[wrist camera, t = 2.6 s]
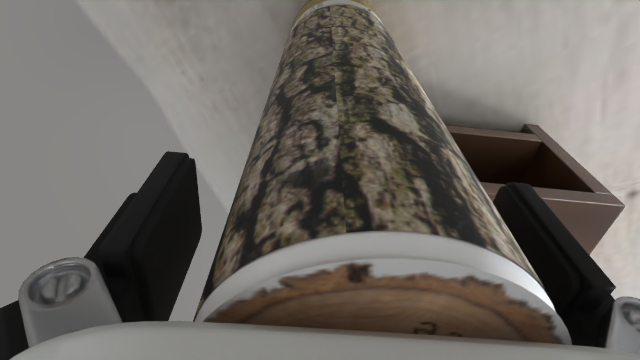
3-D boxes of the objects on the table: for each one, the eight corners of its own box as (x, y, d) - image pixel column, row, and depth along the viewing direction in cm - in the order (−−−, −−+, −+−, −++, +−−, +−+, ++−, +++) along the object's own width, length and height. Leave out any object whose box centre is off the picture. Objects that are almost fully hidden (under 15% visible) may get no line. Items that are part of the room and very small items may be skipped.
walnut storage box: (328, 103, 30) (329, 178, 21) (538, 125, 31) (626, 206, 22) (310, 242, 39) (306, 337, 30) (473, 256, 40) (517, 352, 31)
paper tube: (300, 91, 29) (245, 467, 9) (281, -1, 26) (106, 286, 5) (384, 77, 29) (538, 451, 8) (377, -20, 25) (629, 226, 4)
